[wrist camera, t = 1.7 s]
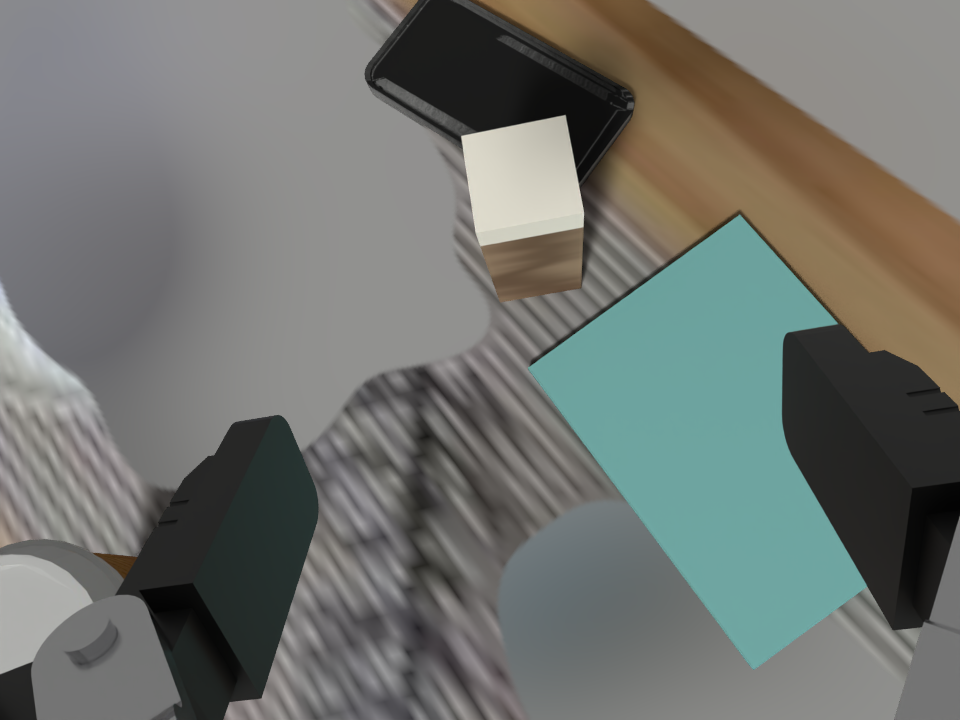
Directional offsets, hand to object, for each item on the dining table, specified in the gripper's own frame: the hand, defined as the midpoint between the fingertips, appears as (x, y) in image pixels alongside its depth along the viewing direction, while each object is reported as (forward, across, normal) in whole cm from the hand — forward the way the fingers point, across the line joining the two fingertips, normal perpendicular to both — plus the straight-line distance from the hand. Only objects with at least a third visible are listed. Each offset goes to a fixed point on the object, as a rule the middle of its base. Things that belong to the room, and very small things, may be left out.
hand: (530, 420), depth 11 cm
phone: (+35, +1, +1) cm, 35 cm away
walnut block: (+27, 0, +8) cm, 28 cm away
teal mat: (+20, -9, +17) cm, 27 cm away
